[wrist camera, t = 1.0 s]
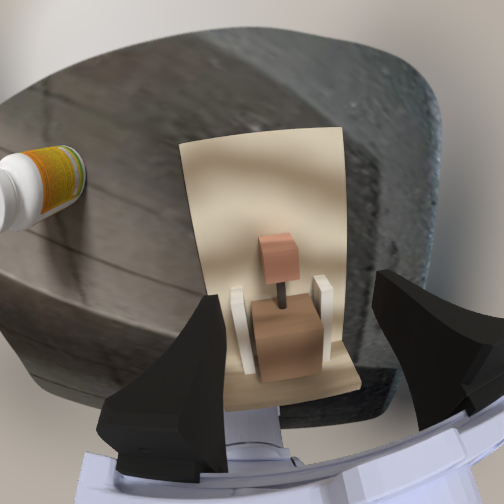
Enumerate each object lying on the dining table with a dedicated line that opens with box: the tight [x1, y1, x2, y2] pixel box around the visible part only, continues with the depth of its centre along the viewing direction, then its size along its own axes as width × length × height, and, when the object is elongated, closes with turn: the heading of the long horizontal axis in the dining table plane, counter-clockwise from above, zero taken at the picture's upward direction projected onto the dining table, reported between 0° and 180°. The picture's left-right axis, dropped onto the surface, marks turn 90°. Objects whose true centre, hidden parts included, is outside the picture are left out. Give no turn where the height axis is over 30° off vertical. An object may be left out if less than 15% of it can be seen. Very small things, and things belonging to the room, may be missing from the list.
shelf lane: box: [179, 127, 361, 412], centre depth 20 cm, size 21×12×7 cm, turn 7°
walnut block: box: [251, 233, 324, 383], centre depth 21 cm, size 11×5×5 cm, turn 7°
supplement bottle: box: [0, 146, 86, 233], centre depth 15 cm, size 5×5×10 cm
